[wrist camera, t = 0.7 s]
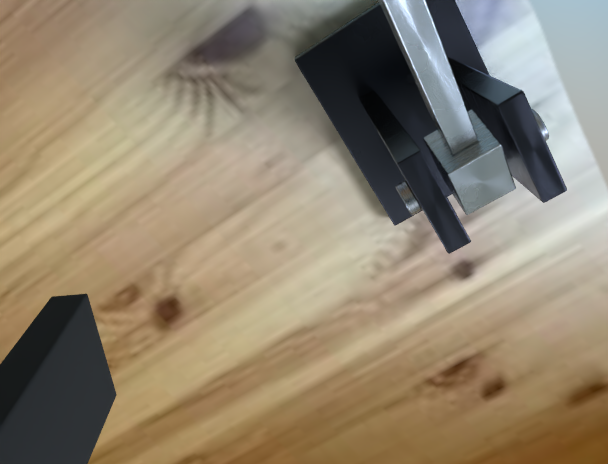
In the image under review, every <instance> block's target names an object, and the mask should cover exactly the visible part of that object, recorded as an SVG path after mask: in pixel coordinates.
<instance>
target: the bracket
mask: <svg viewBox="0 0 608 464" xmlns="http://www.w3.org/2000/svg"><path fill="white" fill-rule="evenodd" d="M425 1H426V3H427V6H428V9H429V11H430V14H431V16H432V19H433V22H434V24H435V27H436V30H437V32H438V35H439V37H440V40H441V43H442V45H443V48H444V51H445V53H446V56H447V59H448V61H449V64H450V66H451V69H452V72H453V74H454V77H455V80H456V82H457V85H458V87H459V90H460V93H461V95H462V98H463V101H464V103H465V106H466V109H467V111H470V110H473V111H474V112H475V113H476V114H477V115H478V117H479V118H480V119H481V120H482V121H483V123H484V124H485V125H486V126H487V128H488V129H489V130H490V131H491V132H492V134H493V135H494V136H495V137H496V139H497V140H498V141H499V142H500V143H501V145H502V148H503V151H504V154H505V157H506V160H507V163H508V166H509V169H510V172H511V175H512V176H513V177H514V178H515V179H516V180H518V181H519V182H520V183H521V184H522V185H523V186H524V187H526V188H527V189H528V190H529V191H530V192H531V193H533V194H534V195H535V196H536V197H537V198H538V199H540V200H541V201H542V202H543V203H544V202H547V201H548V200H550V199H552V198H554V197H556V196H558V195H560V194H562V193H563V192H565V191H567V188H566V186H565V183H564V181H563V179H562V177H561V175H560V172H559V170H558V168H557V166H556V163H555V161H554V159H553V157H552V154H551V152H550V150H549V148H548V145H547V143H546V140H548V138H549V135H548V131H547V128H546V126H545V124H544V122H543V121H542V119H541V118H540V116H539V115H538V114H537V113H536V112H535V111H534V110H533V109H531V107H530V105H529V103H528V101H527V98H526V96H525V94H524V92H523V91H522V90H520V89H517V88H515V87H513V86H511V85H509V84H506V83H504V82H502V81H500V80H498V79H496V78H493V77H491V76H490V75H489V73H488V71H487V69H486V66H485V64H484V62H483V60H482V58H481V56H480V54H479V51H478V49H477V47H476V45H475V43H474V41H473V39H472V36H471V34H470V32H469V30H468V28H467V26H466V24H465V21H464V19H463V17H462V15H461V13H460V11H459V9H458V6H457V4H456V2H455V0H425ZM295 62H296V64H297V65H298V67H299V69H300V70H301V72H302V74H303V75H304V77H305V79H306V80H307V82H308V83H309V85H310V87H311V88H312V90H313V92H314V93H315V95H316V97H317V98H318V100H319V102H320V103H321V105H322V107H323V108H324V110H325V112H326V113H327V115H328V117H329V118H330V120H331V121H332V123H333V125H334V126H335V128H336V130H337V131H338V133H339V135H340V136H341V138H342V140H343V141H344V143H345V145H346V146H347V148H348V150H349V151H350V153H351V155H352V156H353V158H354V159H355V161H356V163H357V164H358V166H359V168H360V169H361V171H362V173H363V174H364V176H365V178H366V179H367V181H368V183H369V184H370V186H371V188H372V189H373V191H374V193H375V194H376V196H377V197H378V199H379V201H380V202H381V204H382V206H383V207H384V209H385V211H386V212H387V214H388V216H389V217H390V219H391V221H392V222H393V224H394V225H397V224H399V223H401V222H403V221H404V220H406V219H408V218H410V217H412V216H413V215H415V214H417V213H419V212H420V211H422V210H423V211H424V213H425V215H426V216H427V218H428V220H429V221H430V223H431V225H432V227H433V228H434V230H435V232H436V233H437V235H438V237H439V239H440V240H441V242H442V244H443V246H444V247H445V249H446V251H447V252H448V253H451V252H453V251H455V250H457V249H459V248H461V247H463V246H464V245H466V244H468V243H470V242H471V240H470V238H469V236H468V235H467V233H466V231H465V229H464V227H463V226H462V224H461V222H460V220H459V218H458V216H457V215H456V213H455V211H454V209H453V207H452V205H451V204H450V202H449V200H448V198H447V196H449V195H451V194H452V192H451V191H450V189H449V188H448V186H447V185H446V183H445V182H444V180H443V178H442V176H441V174H440V172H439V170H438V168H437V166H436V164H435V162H434V160H433V158H432V156H431V154H430V152H429V150H428V148H427V146H426V144H425V142H424V139H423V138H424V137H426V136H427V135H429V134H431V133H432V132H434V131H436V130H437V128H436V126H435V124H434V122H433V120H432V117H431V115H430V113H429V111H428V108H427V106H426V104H425V102H424V100H423V97H422V95H421V93H420V91H419V89H418V86H417V84H416V82H415V80H414V78H413V75H412V73H411V71H410V69H409V67H408V64H407V62H406V60H405V58H404V56H403V53H402V51H401V49H400V47H399V45H398V42H397V40H396V38H395V36H394V34H393V31H392V29H391V27H390V25H389V23H388V20H387V18H386V16H385V14H384V11H383V9H382V7H381V5H380V3H377V4H376V5H374V6H373V7H371V8H369V9H368V10H366V11H365V12H363V13H362V14H360V15H359V16H357V17H356V18H354V19H353V20H351V21H350V22H348V23H346V24H345V25H343V26H342V27H340V28H339V29H337V30H336V31H334V32H333V33H331V34H330V35H328V36H327V37H325V38H324V39H322V40H320V41H319V42H317V43H316V44H314V45H313V46H311V47H310V48H308V49H307V50H305V51H304V52H302V53H301V54H299V55H298V56H296V57H295Z"/></svg>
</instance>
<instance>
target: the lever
mask: <svg viewBox="0 0 608 464" xmlns="http://www.w3.org/2000/svg"><path fill="white" fill-rule="evenodd" d="M379 3H380V5H381V7H382V9H383V11H384V14H385V16H386V18H387V20H388V23H389V25H390V27H391V29H392V31H393V34H394V36H395V38H396V40H397V42H398V45H399V47H400V49H401V51H402V53H403V56H404V58H405V60H406V62H407V64H408V67H409V69H410V71H411V73H412V75H413V78H414V80H415V82H416V84H417V86H418V89H419V91H420V93H421V95H422V97H423V100H424V102H425V104H426V106H427V108H428V111H429V113H430V115H431V117H432V120H433V122H434V124H435V126H436V128H437V130H436V131H434V132H432V133H431V134H429V135H427V136H426V137H424V138H423V139H424V142H425V144H426V146H427V148H428V150H429V152H430V154H431V156H432V158H433V160H434V162H435V164H436V166H437V168H438V170H439V172H440V174H441V176H442V178H443V180H444V182H445V183H446V185H447V186H448V188H449V189H450V191H451V192H452V194H453V195H454V197H455V198H456V200H457V201H458V203H459V205H460V206H461V208H462V209H463V211H464V212H465V214H466V215H468V214H470V213H472V212H474V211H476V210H478V209H479V208H481V207H483V206H485V205H487V204H489V203H491V202H492V201H494V200H496V199H498V198H500V197H502V196H503V195H505V194H507V193H509V192H511V191H513V190H514V189H516V186H515V184H514V181H513V178H512V175H511V172H510V169H509V166H508V163H507V160H506V157H505V154H504V151H503V148H502V145H501V143H500V142H499V141H498V140H497V139H496V137H495V136H494V135H493V134H492V132H491V131H490V130H489V129H488V128H487V126H486V125H485V124H484V123H483V121H482V120H481V119H480V118H479V117H478V115H477V114H476V113H475V112H474V111H473V110H470V111H467V109H466V106H465V103H464V101H463V98H462V95H461V93H460V90H459V87H458V85H457V82H456V80H455V77H454V74H453V72H452V69H451V66H450V64H449V61H448V59H447V56H446V53H445V51H444V48H443V45H442V43H441V40H440V37H439V35H438V32H437V30H436V27H435V24H434V22H433V19H432V16H431V14H430V11H429V9H428V6H427V3H426V1H425V0H379Z"/></svg>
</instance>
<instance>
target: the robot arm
mask: <svg viewBox="0 0 608 464" xmlns="http://www.w3.org/2000/svg"><path fill="white" fill-rule="evenodd" d="M115 397H116V391H115V388H114V384H113V381H112V378H111V374H110V371H109V367H108V364H107V360H106V357H105V354H104V350H103V347H102V343H101V340H100V336H99V333H98V330H97V326H96V323H95V319H94V316H93V312H92V309H91V305H90V302H89V299H88V295H87V294H79V295H67V296H56V297H51V298H50V300H49V301H48V302H47V304H46V305H45V306H44V308H43V309H42V310H41V312H40V313H39V314H38V315H37V317H36V318H35V319H34V321H33V322H32V323H31V325H30V326H29V327H28V329H27V330H26V331H25V333H24V334H23V335H22V337H21V338H20V339H19V341H18V342H17V343H16V344H15V346H14V347H13V348H12V350H11V351H10V352H9V354H8V355H7V356H6V358H5V359H4V360H3V362H2V363H1V364H0V464H87V463H88V461H89V459H90V456H91V454H92V452H93V449H94V447H95V445H96V442H97V440H98V437H99V435H100V433H101V430H102V428H103V426H104V423H105V421H106V418H107V416H108V414H109V411H110V409H111V407H112V404H113V402H114V400H115Z"/></svg>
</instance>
